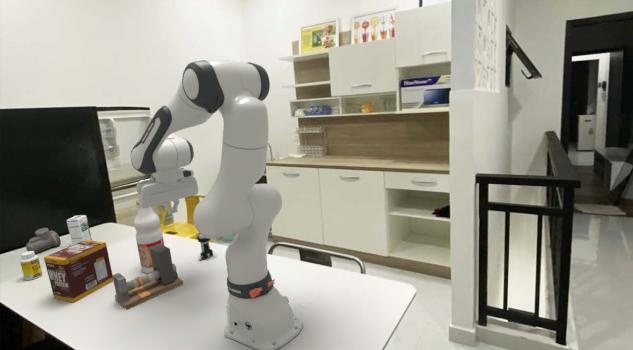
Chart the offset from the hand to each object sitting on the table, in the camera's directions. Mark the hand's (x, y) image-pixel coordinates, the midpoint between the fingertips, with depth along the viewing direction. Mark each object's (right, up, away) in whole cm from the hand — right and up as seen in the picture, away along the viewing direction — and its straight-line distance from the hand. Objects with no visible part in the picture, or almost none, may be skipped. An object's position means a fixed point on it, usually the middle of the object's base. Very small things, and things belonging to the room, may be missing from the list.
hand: (172, 212), depth 124 cm
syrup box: (-60, -21, +43) cm, 77 cm away
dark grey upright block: (-3, -24, 0) cm, 24 cm away
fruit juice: (-13, -24, +15) cm, 31 cm away
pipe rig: (-6, -27, -3) cm, 28 cm away
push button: (+5, -21, +21) cm, 30 cm away
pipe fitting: (-77, -22, +41) cm, 90 cm away
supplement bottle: (-60, -27, +14) cm, 67 cm away
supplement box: (-32, -28, +2) cm, 42 cm away
